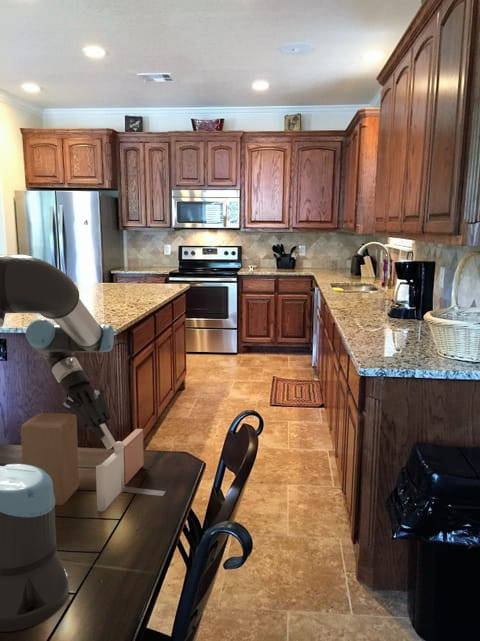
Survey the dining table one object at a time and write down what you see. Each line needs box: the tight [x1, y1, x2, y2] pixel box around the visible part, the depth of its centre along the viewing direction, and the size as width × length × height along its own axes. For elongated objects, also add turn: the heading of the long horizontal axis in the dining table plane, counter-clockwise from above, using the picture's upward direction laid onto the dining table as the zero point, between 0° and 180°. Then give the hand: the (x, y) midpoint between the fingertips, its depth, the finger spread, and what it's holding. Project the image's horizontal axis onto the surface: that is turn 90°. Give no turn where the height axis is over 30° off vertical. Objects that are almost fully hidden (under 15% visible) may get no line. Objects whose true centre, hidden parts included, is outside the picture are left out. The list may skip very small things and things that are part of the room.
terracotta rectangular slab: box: [121, 428, 144, 486], centre depth 132 cm, size 12×2×10 cm, turn 169°
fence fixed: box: [95, 440, 125, 512], centre depth 120 cm, size 12×3×13 cm, turn 169°
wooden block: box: [20, 412, 80, 506], centre depth 121 cm, size 10×10×20 cm
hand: (111, 446), depth 135 cm, fingers closed
